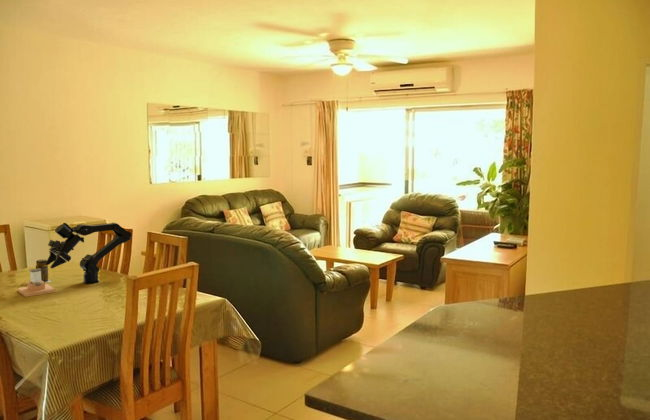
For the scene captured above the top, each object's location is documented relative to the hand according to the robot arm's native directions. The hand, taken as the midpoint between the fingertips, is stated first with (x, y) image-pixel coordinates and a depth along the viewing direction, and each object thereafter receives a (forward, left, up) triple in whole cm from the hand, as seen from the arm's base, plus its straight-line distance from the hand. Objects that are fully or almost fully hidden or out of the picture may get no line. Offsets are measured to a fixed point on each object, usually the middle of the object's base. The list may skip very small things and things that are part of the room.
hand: (48, 266), depth 266 cm
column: (+6, 0, -11) cm, 13 cm away
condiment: (-2, -20, -13) cm, 24 cm away
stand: (+6, 0, -12) cm, 14 cm away
